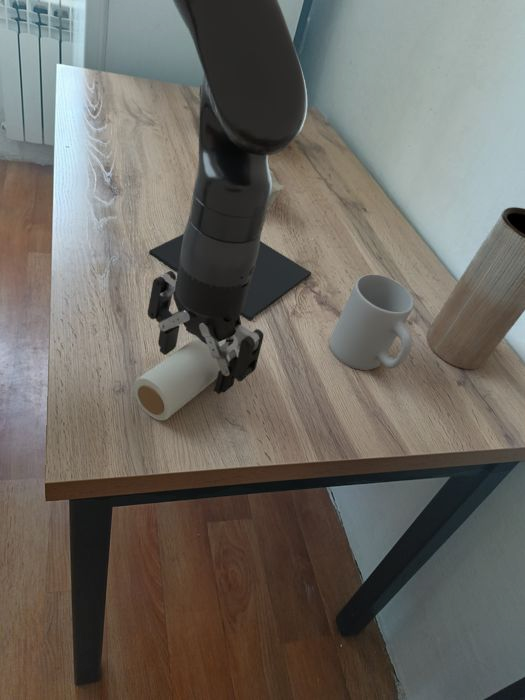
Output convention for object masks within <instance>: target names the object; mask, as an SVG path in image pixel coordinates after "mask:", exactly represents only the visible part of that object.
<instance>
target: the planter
mask: <svg viewBox="0 0 525 700" xmlns="http://www.w3.org/2000/svg"><path fill="white" fill-rule="evenodd" d="M524 312H525V208H523V207H516V206H512V207H506V208H504V209H503V210H502V211H501V212H500V214H499V215H498V217H497V219H496V220H495V222H494V223H493V225H492V226H491V228H490V230H489V232H487V235H486V236H485V238H484V240H483V241H482V243H481V244H480V246H479V247H478V249H477V251H476V252H475V254H474V256H473V257H472V259H471V260H470V262H469V264H468V265H467V266H466V269H465V270H464V271H463V273H462V275H461V277H460V278H459V280H458V281H457V283H456V285H455V286H454V288H453V290H452V291H451V293H450V294H449V296H448V297H447V299H446V301H445V302H444V304H443V306H442V307H441V309H440V311H439V312H438V314H437V315H436V317H435V318H434V320H433V321H432V324H430V327H429V329H428V330H427V333H426V340H427V343H428V345H429V347H430V348H431V350H432V351H433V352H434V354H436V356H437V357H439V358H440V359H441V360H443V361H444V362H446V363H447V364H450V365H452V366H454V367H457V368H460V369H465V370H476V369H479V368H481V367H482V366H483V365H484V364H485V363H486V362H487V361H488V359H489V358H490V357H491V355H492V354H494V352H495V350H496V349H497V348H498V346H499V345H500V344H501V342H502V341H503V340H504V338H505V337H506V336H507V335H508V333H509V332H510V330H512V328H513V327H514V325H515V324H516V323H517V321H518V320H519V318H520V317H521V316H522V315H523V314H524Z"/></svg>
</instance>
